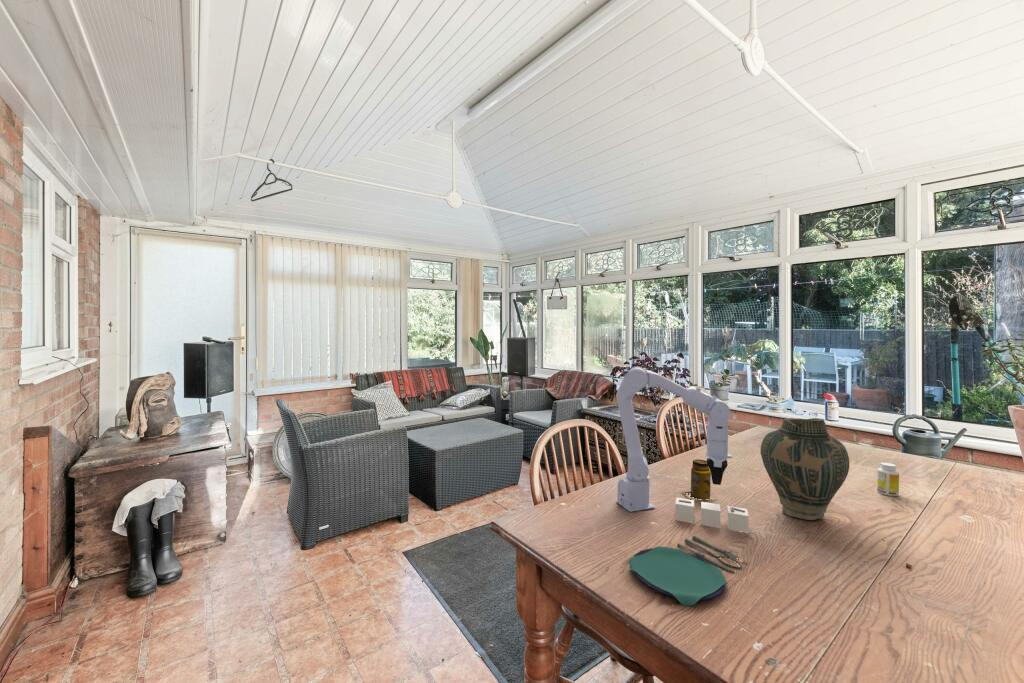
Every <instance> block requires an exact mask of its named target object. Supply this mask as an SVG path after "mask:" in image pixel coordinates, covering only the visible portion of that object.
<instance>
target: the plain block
mask: <svg viewBox="0 0 1024 683" xmlns="http://www.w3.org/2000/svg"><path fill="white" fill-rule="evenodd" d="M721 512H722V511H721V505H720V504H719V503H718V504H717V503H714V502H712V503H711V502H706V501H700V526H704V525H705V527H710V526H711V527H710V528H715V527H717V528H716V529H721V518H722V517H721Z"/></svg>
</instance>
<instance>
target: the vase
mask: <svg viewBox="0 0 1024 683" xmlns="http://www.w3.org/2000/svg"><path fill="white" fill-rule="evenodd" d="M760 455H761V459H762V464H763V466H764V469H765V471H766V473H767V476H768V477H769V479H770V481H771V483H772V485H773V486H774V489H775V490H776V493H777V495H778V498H779V504H780V505H782V507H781V509H782V510H781V512H782V513H783V514H784V515H787V516H789V517H793V518H797V519H800V520H801V519H802V520H807V521H814V520H815V521H816V520H818V519H823V518H824V517H825V513H827V509H828V507H829V504H830V503H831V501H832V500H833V498H834V497H835V496H836V494H837V493H838V491H839V490H840V488H841V487H842V485H843V484H844V483H845V481H846V479H847V477H848V475H849V471H850V457H849V453H848V450H847V448H846V446H845V445H844V444H843V443H842V442H841V441H840V440H838V439H837V438H834V437H832V436H831V435H830V434H829V432H828V430H827V425H826V422H825V420H824V418H817V417H814V418H793V417H789V418H783V419H782V424H781V426H780V428H778V429H776V430H774V431H773V430H772V431H770V432H768V433H767V434H765V435H764V437H763V439H762V441H761V445H760Z"/></svg>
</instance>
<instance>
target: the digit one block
mask: <svg viewBox="0 0 1024 683" xmlns="http://www.w3.org/2000/svg"><path fill="white" fill-rule="evenodd" d="M674 504H675V509H674V510H675V514H674V516H675V518H674V519H675V521H678V520H679V521H678V522H685V523H690V524H694V523H695V501H694V500H690V499H689V498H683V497H676V498H675V503H674Z"/></svg>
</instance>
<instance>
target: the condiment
mask: <svg viewBox="0 0 1024 683" xmlns="http://www.w3.org/2000/svg"><path fill="white" fill-rule="evenodd" d="M711 482H712V477H711V471H710V468H709V466H708V464H707V460H704V459H693V460H692V467H691V470H690V491H680V493H681V494H682V493H683V494H684V493H685V495H684V496H685V497H686V493H688V495H689V493H691V496H690V497H691V498H689V497H688V498H687V499H689V500H690V499H691V500H692V499H693V498H692V497H694V498H697V500H696V499H693V500H694V502H695V501H696V502H699V501H700V502H701V501H707V500H706V499H710V496H711ZM683 494H682V495H683ZM711 497H712V496H711ZM712 498H713V499H712V500H711V501H716V500H717V499H716V498H714V497H712ZM698 499H702V500H698Z"/></svg>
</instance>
